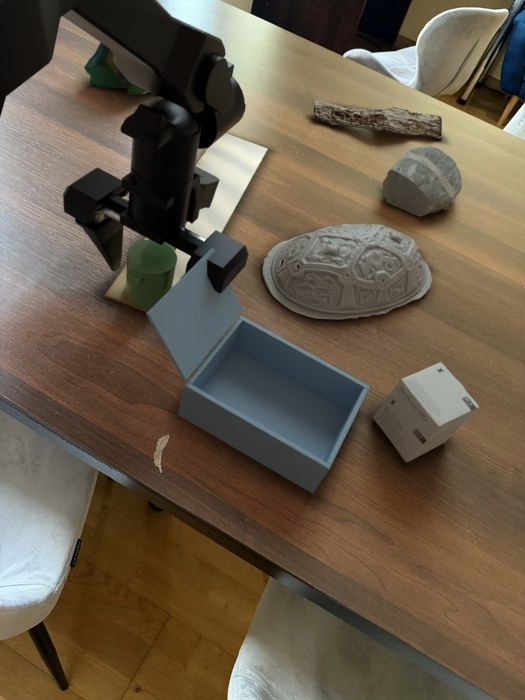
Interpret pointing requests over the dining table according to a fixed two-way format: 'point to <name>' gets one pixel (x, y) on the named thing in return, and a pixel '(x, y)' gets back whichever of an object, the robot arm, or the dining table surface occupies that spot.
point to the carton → (273, 402)
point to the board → (235, 175)
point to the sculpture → (108, 72)
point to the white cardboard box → (424, 411)
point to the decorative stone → (423, 181)
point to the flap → (193, 317)
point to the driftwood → (379, 119)
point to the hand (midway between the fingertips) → (149, 287)
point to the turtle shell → (346, 272)
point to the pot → (149, 272)
